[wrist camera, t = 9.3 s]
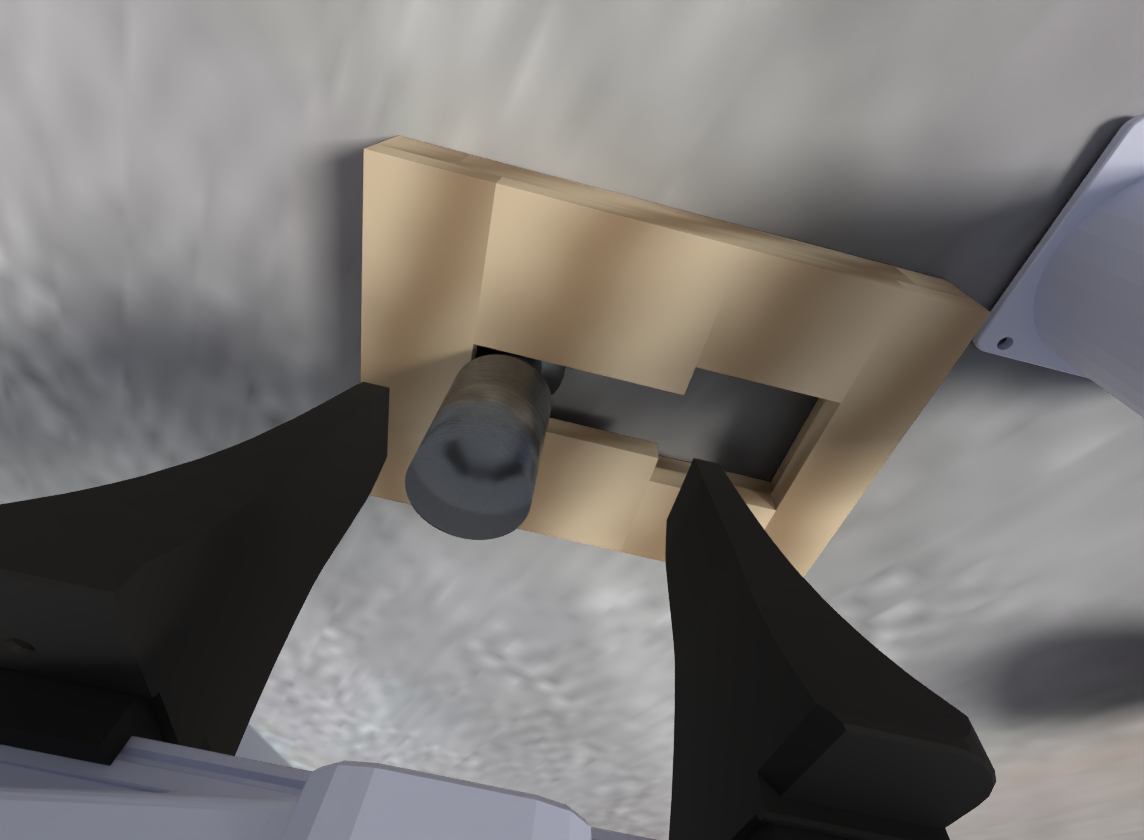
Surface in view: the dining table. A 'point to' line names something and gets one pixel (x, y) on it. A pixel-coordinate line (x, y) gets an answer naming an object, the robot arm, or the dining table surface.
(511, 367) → the key peg
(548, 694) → the dining table surface
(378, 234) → the keyhole plate
